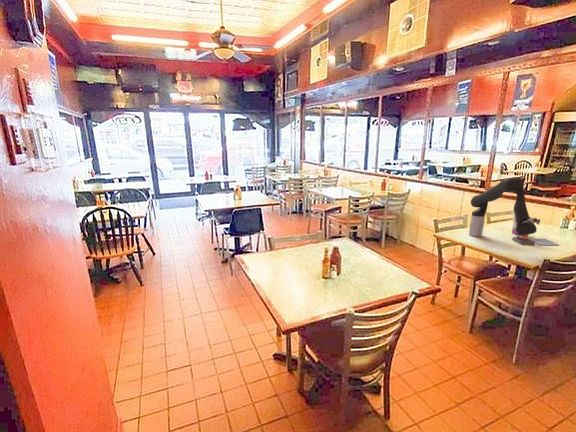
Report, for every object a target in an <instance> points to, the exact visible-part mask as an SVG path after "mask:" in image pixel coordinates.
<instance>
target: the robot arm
mask: <svg viewBox="0 0 576 432" xmlns="http://www.w3.org/2000/svg"><path fill="white" fill-rule="evenodd" d="M507 192H508V193H509V192H515V194H516V200H515V202H514V205H513V212H514V216H516V217H515V222H516V223H517V224H516V232H517V234H518V235H521V236H522V235H528V234H529V235H533V234H536V232H537V226H536V225H540V223H541V218H537V217H534V218H532V217H531V216H530V215H529V211H528V208H527V204H526V197H525V196H526V195H525V186H524V182H523V179H522V178H521V177H519V176H517V177H515V176H514V177H507V178H504V179H502V180H501V181H500V182H499V183H497V184H496V185H494V186H491V188H488V189H487V190H485V191H484V192H482V193H480V194H477V195H475V196H473V197H471V200H470V205H471V206H472V207H473V208H477V209H475V210H472V212H471V218H470V225H469V231H468V232H469V233H468V234H469V236H471V237H475V238H476V237H477V238H481V237H483V234H484V233H483V231H484V224H485V219H486V213H487V211H488V210H487V209H488V206H489V205H488V204H489V202H493V201H496V200H499V199H500V198H501V197H502V196H503V193H507ZM535 224H536V225H535ZM518 235H517V236H518ZM529 235H528V236H529Z"/></svg>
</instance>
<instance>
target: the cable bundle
mask: <svg viewBox="0 0 576 432" xmlns="http://www.w3.org/2000/svg"><path fill="white" fill-rule="evenodd" d="M529 235H530V234H528V235H522V236H521V235H520V236H519V237H520V239H519V240H521V241H528V238H529Z"/></svg>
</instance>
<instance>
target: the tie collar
mask: <svg viewBox="0 0 576 432" xmlns="http://www.w3.org/2000/svg"><path fill="white" fill-rule="evenodd" d="M519 239H520V236H518V235H516V236H513V237H512V241H513V240H514V241H513V242H515V241H516V244H519V245H536V244H535V241H533V240H531V239H532V238H529V237H528V241H521V240H519Z"/></svg>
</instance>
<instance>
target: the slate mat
mask: <svg viewBox="0 0 576 432" xmlns="http://www.w3.org/2000/svg"><path fill="white" fill-rule="evenodd" d="M530 239H531V240H533V241H535V244H534V245H538V246H559V244H558V243H555V242H554V241H552V240H550V239H547V238H530Z"/></svg>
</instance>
